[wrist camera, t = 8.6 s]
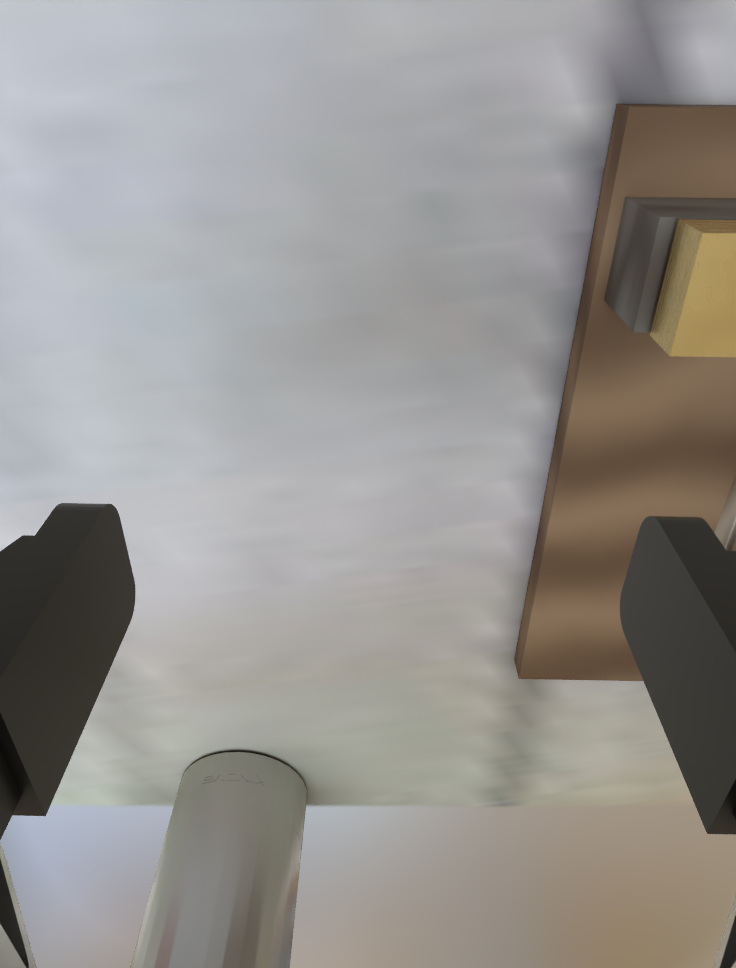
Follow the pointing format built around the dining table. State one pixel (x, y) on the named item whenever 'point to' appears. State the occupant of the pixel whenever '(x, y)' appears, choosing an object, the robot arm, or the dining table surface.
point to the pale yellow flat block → (699, 291)
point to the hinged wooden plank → (632, 397)
